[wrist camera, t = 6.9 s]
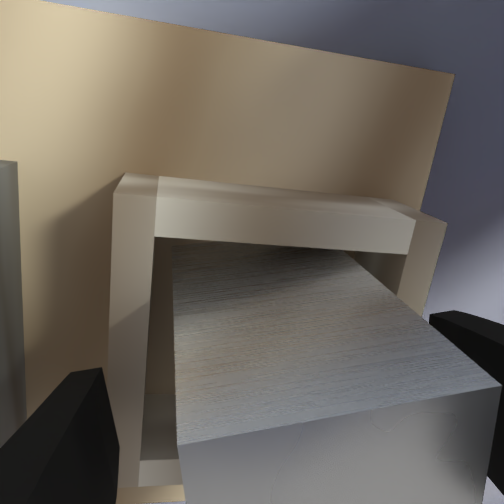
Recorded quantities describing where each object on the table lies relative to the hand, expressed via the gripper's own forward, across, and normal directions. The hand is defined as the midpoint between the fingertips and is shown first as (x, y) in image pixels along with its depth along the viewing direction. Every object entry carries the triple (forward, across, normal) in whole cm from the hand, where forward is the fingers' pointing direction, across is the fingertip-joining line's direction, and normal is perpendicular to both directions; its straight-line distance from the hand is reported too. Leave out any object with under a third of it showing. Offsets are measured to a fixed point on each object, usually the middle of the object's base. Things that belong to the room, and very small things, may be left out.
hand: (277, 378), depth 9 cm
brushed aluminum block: (+3, 0, 0) cm, 3 cm away
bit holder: (+4, +3, -1) cm, 5 cm away
